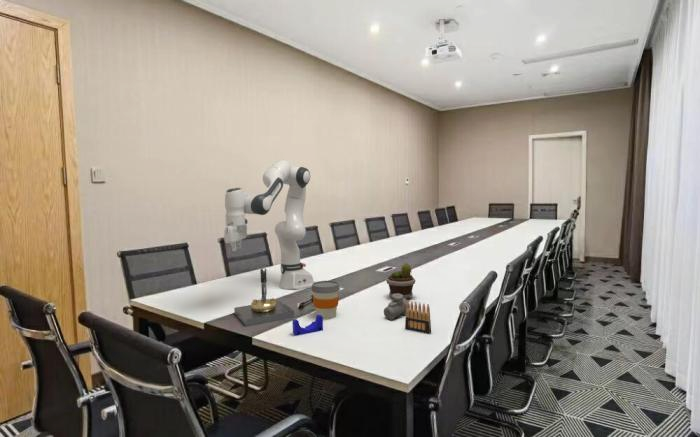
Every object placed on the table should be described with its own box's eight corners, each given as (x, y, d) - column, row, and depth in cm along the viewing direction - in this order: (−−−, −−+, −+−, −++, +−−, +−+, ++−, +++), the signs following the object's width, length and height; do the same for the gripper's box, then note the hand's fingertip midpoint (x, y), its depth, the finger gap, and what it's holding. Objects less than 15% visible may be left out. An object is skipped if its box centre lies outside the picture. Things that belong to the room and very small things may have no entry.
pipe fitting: (396, 310, 184) (396, 289, 182) (410, 315, 179) (410, 294, 177) (380, 319, 176) (380, 298, 174) (394, 325, 170) (394, 303, 168)
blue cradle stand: (318, 327, 165) (318, 313, 165) (323, 330, 161) (322, 316, 161) (291, 332, 160) (291, 318, 159) (295, 336, 156) (295, 321, 155)
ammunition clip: (404, 329, 161) (404, 300, 160) (406, 327, 163) (406, 299, 162) (429, 334, 155) (429, 304, 154) (431, 332, 157) (431, 303, 156)
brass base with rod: (275, 311, 177) (274, 274, 175) (250, 312, 175) (249, 276, 173) (275, 300, 193) (274, 267, 192) (253, 302, 191) (251, 268, 190)
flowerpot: (381, 298, 205) (380, 261, 203) (398, 292, 216) (398, 257, 215) (403, 304, 195) (403, 264, 194) (420, 297, 206) (420, 260, 205)
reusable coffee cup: (329, 322, 171) (328, 288, 169) (306, 317, 177) (306, 285, 176) (345, 314, 181) (344, 282, 180) (323, 310, 188) (322, 279, 187)
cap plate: (279, 306, 196) (278, 299, 195) (294, 317, 178) (294, 310, 178) (234, 313, 184) (234, 307, 184) (246, 326, 167) (245, 319, 167)
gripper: (233, 223, 178) (234, 253, 180) (248, 219, 199) (249, 246, 200) (220, 223, 179) (221, 253, 180) (236, 220, 199) (237, 246, 200)
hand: (236, 250), depth 190 cm, fingers open, 4 cm apart
